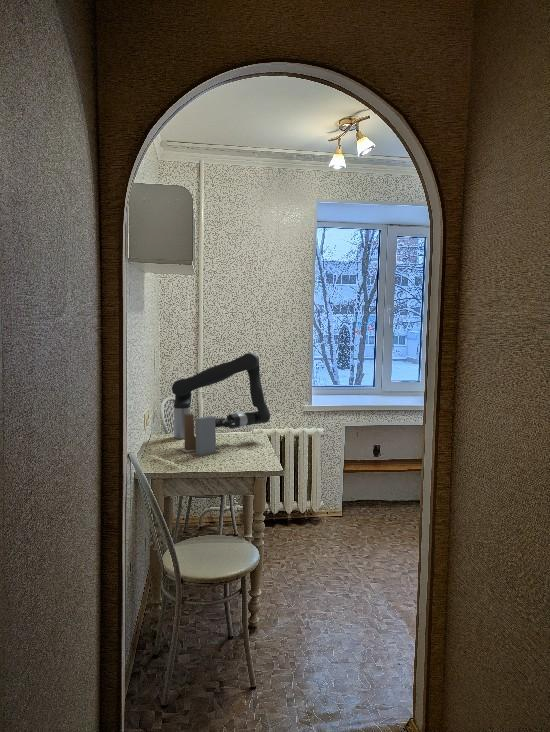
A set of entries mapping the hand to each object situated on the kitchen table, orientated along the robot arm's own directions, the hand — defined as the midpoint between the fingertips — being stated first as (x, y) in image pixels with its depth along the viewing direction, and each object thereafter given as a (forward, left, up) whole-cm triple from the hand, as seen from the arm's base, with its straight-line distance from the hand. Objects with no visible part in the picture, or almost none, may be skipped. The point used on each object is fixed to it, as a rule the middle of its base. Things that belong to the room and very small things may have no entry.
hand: (211, 424), depth 300 cm
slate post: (+12, -11, -12) cm, 20 cm away
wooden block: (0, -11, -12) cm, 16 cm away
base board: (+5, -11, -13) cm, 17 cm away
